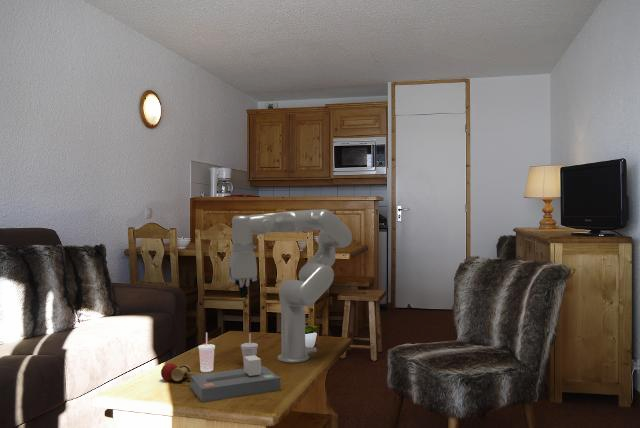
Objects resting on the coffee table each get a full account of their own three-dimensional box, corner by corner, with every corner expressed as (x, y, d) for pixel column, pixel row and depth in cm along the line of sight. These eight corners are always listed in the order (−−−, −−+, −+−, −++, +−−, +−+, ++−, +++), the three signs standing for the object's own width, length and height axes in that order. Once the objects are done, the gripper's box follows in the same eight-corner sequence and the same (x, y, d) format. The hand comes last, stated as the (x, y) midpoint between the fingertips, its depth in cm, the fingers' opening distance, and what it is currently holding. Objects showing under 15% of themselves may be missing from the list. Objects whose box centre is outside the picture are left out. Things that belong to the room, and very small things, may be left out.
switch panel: (260, 374, 196) (260, 363, 196) (280, 389, 179) (280, 377, 179) (188, 384, 185) (188, 372, 185) (201, 402, 168) (201, 388, 168)
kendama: (214, 382, 193) (166, 373, 196) (215, 365, 191) (167, 356, 194) (205, 393, 185) (156, 383, 188) (206, 376, 184) (157, 366, 187)
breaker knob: (255, 369, 187) (255, 355, 187) (261, 374, 181) (260, 359, 181) (243, 371, 185) (243, 356, 185) (249, 375, 180) (249, 360, 180)
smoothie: (244, 374, 197) (244, 335, 197) (238, 369, 203) (238, 332, 203) (260, 371, 200) (260, 333, 200) (254, 367, 206) (254, 330, 206)
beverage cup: (211, 372, 199) (211, 334, 199) (195, 372, 200) (195, 334, 200) (217, 368, 205) (217, 331, 205) (202, 367, 206) (202, 330, 206)
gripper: (258, 247, 211) (258, 294, 211) (220, 248, 204) (221, 297, 204) (264, 248, 204) (265, 296, 204) (226, 249, 198) (227, 300, 198)
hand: (243, 297), depth 204 cm, fingers closed
